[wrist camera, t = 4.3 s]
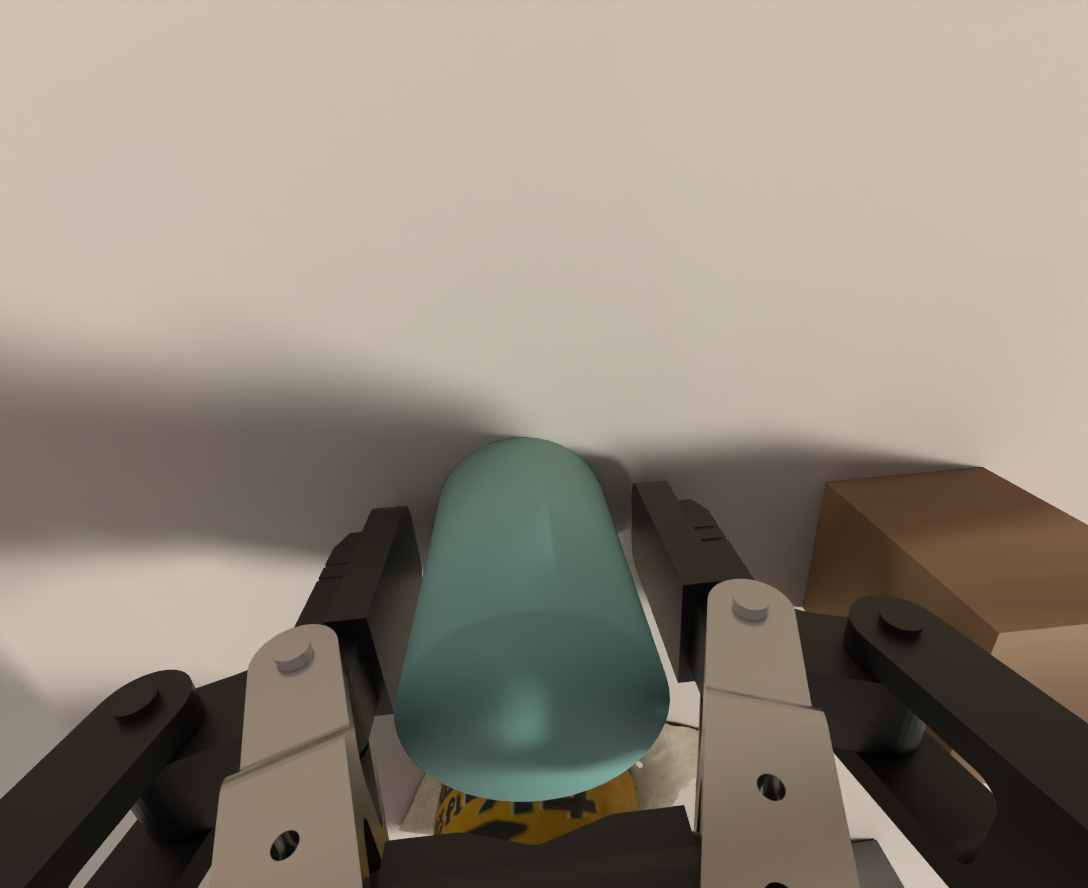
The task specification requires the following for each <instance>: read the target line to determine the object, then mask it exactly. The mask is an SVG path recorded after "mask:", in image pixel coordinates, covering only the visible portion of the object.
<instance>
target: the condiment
mask: <svg viewBox="0 0 1088 888" xmlns="http://www.w3.org/2000/svg"><path fill="white" fill-rule="evenodd" d="M697 752H698V731H697V730H694V729H692V728H689V727H683V726H680V727H678V726H672V725H669V724H666V723H665V725H664V727H663V729H662V731H661V733H660V735H659V737H658V738H657V740H656V741H655V743H654V744H653V745H652V747H651V748H650V749H649V750H648V751H647V752H646V754H645V755H644V756H643V757H642V758H641V759H640V760H638V761H640V762H641V763H642V764H643V767H642V768H639V767H638V766H637V765H636V763H635V764H634V765H633V766H631V767H630V768H629V769H627V770H626V771H624V772H623V773H621V774H620V775H619V776H617V777H615V778H613V779H611V780H609V781H608V782H606V783H604V784H601V785H599V786H597V787H594V788H592V789H590V790H587V791H584V792H581V793H578V794H574V795H570V796H566V797H562V798H556V799H550V800H543V801H531V802H511V801H499V800H492V799H486V798H481V797H477V796H473V795H470V794H466V793H463V792H461V791H458V790H455V789H453V788H450V787H448V786H446V785H445V784H443V783H441V782H439V781H437V780H436V779H434V778H433V777H431V776H430V775H428V774H427V773H426V774H425V776H424V778H423V780H422V782H421V784H420V786H419V788H418V791H417V793H416V795H415V797H414V801H413V804H412V805H411V807H410V809H409V811H408V813H407V815H406V818H405V820H404V822H403V824H402V826H401V828H400V830H401V831H406V832H412V833H422V834H430V835H440V834H448V833H456V832H462V833H467V834H473V835H479V836H484V837H490V838H495V839H501V840H507V841H512V842H518V843H524V844H530V845H537V844H542V843H545V842H547V841H550V840H552V839H554V838H557V837H559V836H561V835H564V834H566V833H568V832H571V831H573V830H575V829H578V828H580V827H582V826H585V825H587V824H589V823H591V822H594V821H596V820H598V819H601V818H603V817H605V816H608V815H610V814H615V813H623V812H631V811H640V810H648V809H656V808H665V807H671V805H672V804H673V803H674V802H675V800H676V799H677V798H678V795H679V792H680V791H681V790H682V789H684V788H685V787H686V786H687V785H689V783H690V782H691V781H692V779H693V778H694V777H695V776H696V775H697Z"/></svg>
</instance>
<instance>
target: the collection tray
mask: <svg viewBox="0 0 1088 888" xmlns="http://www.w3.org/2000/svg"><path fill="white" fill-rule="evenodd" d="M851 844H852V849H853V854H854V859H855V864H856V869H857V874H858V879H859V884H860V888H904V886H903V884H902V883H901V881H900V879H899V878H898V876H897V874H896V872H895V871H894V869H893V867H892V866H891V864H890V862H889V860H888V859H887V857H886V855H885V854H884V852H883V850H882V848H881V847H880V845H879V843H878V842H877V840H870V841H862V842H854V843H851Z"/></svg>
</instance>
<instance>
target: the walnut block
mask: <svg viewBox="0 0 1088 888" xmlns="http://www.w3.org/2000/svg"><path fill="white" fill-rule="evenodd" d="M871 595H886V596H893V597H897V598H901V599H904V600H907V601H910V602H913V603H915V604H918V605H920V606H922V607H923V608H925V609H927V610H929V611H930V612H932V613H933V614H935V615H936V616H938V617H939V618H940V619H942V620H943V621H945V622H946V623H947V624H949V625H950V626H952V627H953V628H954V629H956V630H957V631H959V632H960V633H961V634H963V635H964V636H966V637H967V638H968V639H970V640H971V641H973V642H974V643H976V644H977V645H978V646H980V647H981V648H983V649H984V650H985V651H987V652H988V653H990V654H991V655H992V656H994V657H995V658H997V659H998V660H999V661H1001V662H1002V663H1004V664H1005V665H1006V666H1008V667H1009V668H1011V669H1012V670H1013V671H1015V672H1016V673H1018V674H1019V675H1020V676H1022V677H1023V678H1025V679H1026V680H1027V681H1029V682H1030V683H1032V684H1033V685H1035V686H1036V687H1037V688H1039V689H1040V690H1042V691H1043V692H1044V693H1046V694H1047V695H1049V696H1050V697H1051V698H1053V699H1054V700H1056V701H1057V702H1058V703H1060V704H1061V705H1063V706H1064V707H1065V708H1067V709H1068V710H1070V711H1071V712H1072V713H1074V714H1075V715H1077V716H1078V717H1079V718H1081V719H1082V720H1084V721H1085V722H1086V723H1088V525H1087V524H1085V523H1083V522H1081V521H1079V520H1078V519H1076V518H1074V517H1072V516H1070V515H1069V514H1067V513H1065V512H1063V511H1061V510H1060V509H1058V508H1056V507H1054V506H1052V505H1051V504H1049V503H1047V502H1045V501H1043V500H1041V499H1040V498H1038V497H1036V496H1034V495H1032V494H1031V493H1029V492H1027V491H1025V490H1023V489H1022V488H1020V487H1018V486H1016V485H1014V484H1012V483H1011V482H1009V481H1007V480H1005V479H1003V478H1002V477H1000V476H998V475H996V474H994V473H993V472H991V471H989V470H987V469H985V468H983V467H979V468H969V469H958V470H948V471H937V472H927V473H917V474H906V475H896V476H885V477H875V478H865V479H854V480H844V481H833V482H826V484H825V490H824V495H823V501H822V506H821V511H820V517H819V522H818V528H817V533H816V538H815V544H814V549H813V555H812V560H811V566H810V571H809V576H808V582H807V587H806V593H805V598H804V604H803V608H804V610H805V611H806V612H811V613H819V614H827V615H834V616H842V617H848V614H849V610H850V607H851V605H852V604H853V603H854V602H855V601H856V600H858V599H860V598H862V597H865V596H871ZM925 731H926V732H927V733H928V734H930V735H931V736H932V737H933V738H934V739H935V740H936V741H937V742H938V743H939V744H940V745H941V746H942V747H943V748H944V749H946V750H947V751H948V752H949V753H950V754H951V755H952V756H953V757H954V758H955V759H956V760H957V761H958V762H959V763H961V764H962V765H963V766H964V767H965V768H966V769H967V770H968V771H969V772H970V773H971V774H972V775H973V776H974V777H975V778H977V779H978V780H979V781H980V782H981V783H986V782H985V780H984V779H983V778H982V777H981V776H980V774H979V773H978V772H977V771H976V770H975V769H974V768H972V767H971V766H970V765H969V764H968V763H967V762H966V761H965V760H964V759H963V758H962V757H961V756H959V755H958V754H957V753H956V752H955V751H954V750H953V749H952V748H951V747H950V746H949V745H948V744H946V743H945V742H944V741H943V740H942V739H941V738H940V737H939V736H938V735H937V734H936V733H935V732H933V731H932V730H931V729H930V728H929V727H928V726H927V725H926V727H925Z"/></svg>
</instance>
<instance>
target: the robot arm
mask: <svg viewBox="0 0 1088 888" xmlns="http://www.w3.org/2000/svg"><path fill="white" fill-rule="evenodd" d="M631 516H632V551H633V557H634V562H635V566H636V569H637V571H638V574H639V577H640V580H641V582H642V585H643V588H644V591H645V593H646V596H647V599H648V602H649V604H650V607H651V610H652V613H653V615H654V618H655V621H656V624H657V626H658V629H659V632H660V635H661V637H662V640H663V643H664V646H665V648H666V651H667V654H668V657H669V659H670V662H671V665H672V668H673V670H674V673H675V676H676V679H677V681H678V683H681V682H690V681H695V682H696V684H697V687H698V689H699V692H700V706H699V727H698V752H697V776H696V800H695V820H694V831H692V830H691V827H690V824H689V820H688V817H687V814H686V810H685V807H684V805H681V806H673V807H665V808H656V809H648V810H640V811H631V812H623V813H615V814H610V815H608V816H605V817H603V818H601V819H598V820H596V821H594V822H591V823H589V824H587V825H585V826H582V827H580V828H578V829H575V830H573V831H571V832H568V833H566V834H564V835H561V836H559V837H557V838H554V839H552V840H550V841H547V842H545V843H542V844H537V845H530V844H524V843H518V842H512V841H507V840H501V839H495V838H490V837H484V836H479V835H473V834H467V833H462V832H456V833H448V834H440V835H431V836H423V837H415V838H406V839H398V840H390V841H389V838H388V832H387V826H386V821H385V815H384V809H383V803H382V798H381V792H380V786H379V780H378V774H377V769H376V763H375V757H374V751H373V746H372V743H371V739H370V732H371V728H372V724H373V720H374V716H378V715H387V714H394V706H395V701H396V696H397V691H398V687H399V682H400V678H401V673H402V668H403V664H404V659H405V655H406V650H407V646H408V641H409V637H410V632H411V627H412V623H413V618H414V614H415V609H416V605H417V600H418V595H419V591H420V586H421V582H422V569H421V561H420V556H419V552H418V547H417V542H416V538H415V533H414V528H413V524H412V519H411V515H410V511H409V509H408V507H407V506H398V507H388V508H378V509H373V510H372V511H371V513H370V515H369V517H368V520H367V522H366V524H365V527H364V529H363V531H362V532H357V533H350V534H349V535H347V536H346V537H345V538H344V539H343V540H342V541H341V542H340V543H339V544H338V545H337V546H335V547H334V548H333V550H332V552H331V554H330V556H329V558H328V560H327V562H326V564H325V565H326V568H323V570H322V572H321V575H320V577H319V581H318V582H317V583H316V585H315V587H314V589H313V591H312V593H311V595H310V597H309V599H308V601H307V603H306V605H305V607H304V609H303V611H302V613H301V615H300V617H299V619H298V621H297V623H296V625H295V627H294V628H291V629H289V630H286V631H284V632H282V633H280V634H278V635H277V636H275V637H274V638H272V639H271V640H269V641H268V642H267V643H265V644H264V645H263V646H262V647H261V648H260V649H259V650H258V651H257V653H256V654H255V655H254V657H253V658H252V660H251V662H250V664H249V667H248V670H247V671H244V672H242V673H239V674H236V675H234V676H231V677H228V678H225V679H222V680H219V681H216V682H213V683H210V684H208V685H205V686H202V687H199V688H195V686H194V684H193V682H192V680H191V679H190V677H189V675H187V674H186V673H185V672H182V671H179V670H163V671H158V672H154V673H151V674H148V675H145V676H142V677H140V678H138V679H136V680H133V681H132V682H130V683H128V684H126V685H124V686H123V687H121V688H120V689H118V690H117V691H115V692H114V693H113V694H111V695H110V696H108V697H107V698H106V699H105V700H104V701H103V702H102V703H100V704H99V705H98V706H97V707H96V708H95V709H94V710H93V711H92V712H91V713H90V714H89V715H88V716H87V717H86V718H85V719H84V720H83V721H82V722H81V723H80V724H79V725H78V726H76V727H75V728H74V729H73V730H72V731H71V732H70V733H69V734H68V735H67V736H66V737H65V738H64V739H63V740H62V741H61V742H60V743H59V744H58V745H57V746H56V747H55V748H54V749H53V750H51V751H50V752H49V753H48V754H47V755H46V756H45V757H44V758H43V759H42V760H41V761H40V762H39V763H38V764H37V765H36V766H35V767H34V768H33V769H32V770H31V771H30V772H28V773H27V774H26V775H25V776H24V777H23V778H22V779H21V780H20V781H19V782H18V783H17V784H16V785H15V786H14V787H13V788H12V789H11V790H10V791H9V792H8V793H6V794H5V795H4V796H3V797H2V798H1V799H0V888H68V887H69V885H70V884H71V882H72V881H73V879H74V878H75V877H76V875H77V874H78V873H79V871H80V870H81V869H82V868H83V866H84V865H85V864H86V863H87V862H88V860H89V859H90V858H91V857H92V855H93V854H94V853H95V852H96V850H97V849H98V848H99V847H100V846H101V845H102V843H103V842H104V841H105V840H106V838H107V837H108V836H109V835H110V833H111V832H112V831H113V830H114V828H115V827H116V826H117V825H118V824H119V822H120V821H121V820H122V819H123V818H124V816H125V815H126V814H127V813H128V811H129V810H130V809H131V810H132V812H133V813H134V815H135V816H136V818H137V821H136V822H135V823H134V825H133V826H132V827H131V828H130V830H129V831H128V832H127V833H126V835H125V836H124V837H123V838H122V840H121V841H120V842H119V844H118V845H117V846H116V847H115V849H114V850H113V851H112V852H111V854H110V855H109V856H108V858H107V859H106V860H105V861H104V863H103V864H102V865H101V866H100V868H99V869H98V870H97V871H96V873H95V874H94V875H93V877H92V878H91V879H90V880H89V881H88V883H87V884H86V885H85V887H84V888H198V886H199V885H200V883H201V881H202V880H203V878H204V877H205V875H206V873H207V872H208V870H209V869H210V867H211V865H212V867H211V876H210V885H209V888H860V884H859V879H858V874H857V869H856V864H855V859H854V854H853V849H852V844H851V839H850V834H849V829H848V824H847V819H846V814H845V809H844V804H843V799H842V794H841V789H840V784H839V779H838V774H837V769H836V764H835V759H834V754H835V755H836V756H837V757H838V758H839V759H840V761H841V762H842V763H843V764H844V765H845V767H846V768H847V769H848V770H849V771H850V772H851V774H852V775H853V776H854V777H855V778H856V779H857V781H858V782H859V783H860V784H861V785H862V786H863V788H864V789H865V790H866V791H867V792H868V793H869V795H870V796H871V797H872V798H873V799H874V800H875V802H876V803H877V804H878V805H879V806H880V807H881V809H882V810H883V811H884V812H885V813H886V814H887V816H888V817H889V818H890V819H891V820H892V821H893V823H894V824H895V825H896V826H897V827H898V829H899V830H900V831H901V832H902V833H903V834H904V836H905V837H906V838H907V839H908V840H909V841H910V843H911V844H912V845H913V846H914V847H915V848H916V850H917V851H918V852H919V853H920V854H921V855H922V857H923V858H924V859H925V860H926V861H927V862H928V864H929V865H930V866H931V867H932V868H933V869H934V871H935V872H936V873H937V874H938V875H939V876H940V878H941V879H942V880H943V881H944V882H945V883H946V885H947V886H948V887H949V888H1088V723H1086V722H1085V721H1084V720H1082V719H1081V718H1079V717H1078V716H1077V715H1075V714H1074V713H1072V712H1071V711H1070V710H1068V709H1067V708H1065V707H1064V706H1063V705H1061V704H1060V703H1058V702H1057V701H1056V700H1054V699H1053V698H1051V697H1050V696H1049V695H1047V694H1046V693H1044V692H1043V691H1042V690H1040V689H1039V688H1037V687H1036V686H1035V685H1033V684H1032V683H1030V682H1029V681H1027V680H1026V679H1025V678H1023V677H1022V676H1020V675H1019V674H1018V673H1016V672H1015V671H1013V670H1012V669H1011V668H1009V667H1008V666H1006V665H1005V664H1004V663H1002V662H1001V661H999V660H998V659H997V658H995V657H994V656H992V655H991V654H990V653H988V652H987V651H985V650H984V649H983V648H981V647H980V646H978V645H977V644H976V643H974V642H973V641H971V640H970V639H968V638H967V637H966V636H964V635H963V634H961V633H960V632H959V631H957V630H956V629H954V628H953V627H952V626H950V625H949V624H947V623H946V622H945V621H943V620H942V619H940V618H939V617H938V616H936V615H935V614H933V613H932V612H930V611H929V610H927V609H925V608H923V607H922V606H920V605H918V604H915V603H913V602H910V601H907V600H904V599H901V598H897V597H893V596H886V595H871V596H865V597H862V598H860V599H858V600H856V601H855V602H854V603H853V604H852V605H851V607H850V610H849V614H848V617H842V616H834V615H827V614H819V613H811V612H806V611H801V610H798V609H794V607H793V605H792V603H791V602H790V601H789V599H788V598H787V597H786V596H785V595H784V594H783V593H781V592H780V591H779V590H777V589H775V588H774V587H772V586H770V585H767V584H765V583H762V582H759V581H755V580H754V578H753V577H752V575H751V574H750V572H749V571H748V569H747V568H746V566H745V565H744V563H743V562H742V560H741V559H740V557H739V556H738V554H737V553H736V551H735V550H734V548H733V547H732V545H731V544H730V542H729V541H728V540H726V536H725V535H724V533H723V532H722V530H721V529H720V528H718V524H717V523H716V521H715V520H714V518H713V517H712V515H711V514H710V512H709V511H708V510H707V509H705V508H704V507H702V506H701V505H699V504H698V503H696V502H695V501H693V500H692V499H689V500H679V501H678V500H677V498H676V497H675V495H674V493H673V491H672V490H671V488H670V486H669V485H668V483H667V482H666V481H665V480H664V481H654V482H644V483H634V484H633V485H632V492H631ZM926 725H927V726H928V727H929V728H930V729H931V730H932V731H933V732H935V733H936V734H937V735H938V736H939V737H940V738H941V739H942V740H943V741H944V742H945V743H946V744H948V745H949V746H950V747H951V748H952V749H953V750H954V751H955V752H956V753H957V754H958V755H959V756H961V757H962V758H963V759H964V760H965V761H966V762H967V763H968V764H969V765H970V766H971V767H972V768H974V769H975V770H976V771H977V772H978V773H979V774H980V776H981V777H982V778H983V779H984V780H985V782H986V783H987V785H988V786H989V788H990V789H991V791H992V792H990V791H989V790H988V789H987V788H986V787H985V786H984V785H983V784H982V783H981V782H980V781H979V780H978V779H977V778H975V777H974V776H973V775H972V774H971V773H970V772H969V771H968V770H967V769H966V768H965V767H964V766H963V765H962V764H961V763H959V762H958V761H957V760H956V759H955V758H954V757H953V756H952V755H951V754H950V753H949V752H948V751H947V750H946V749H944V748H943V747H942V746H941V745H940V744H939V743H938V742H937V741H936V740H935V739H934V738H933V737H932V736H931V735H930V734H928V733H927V732H926V731H925V727H926ZM833 752H834V754H833Z"/></svg>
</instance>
